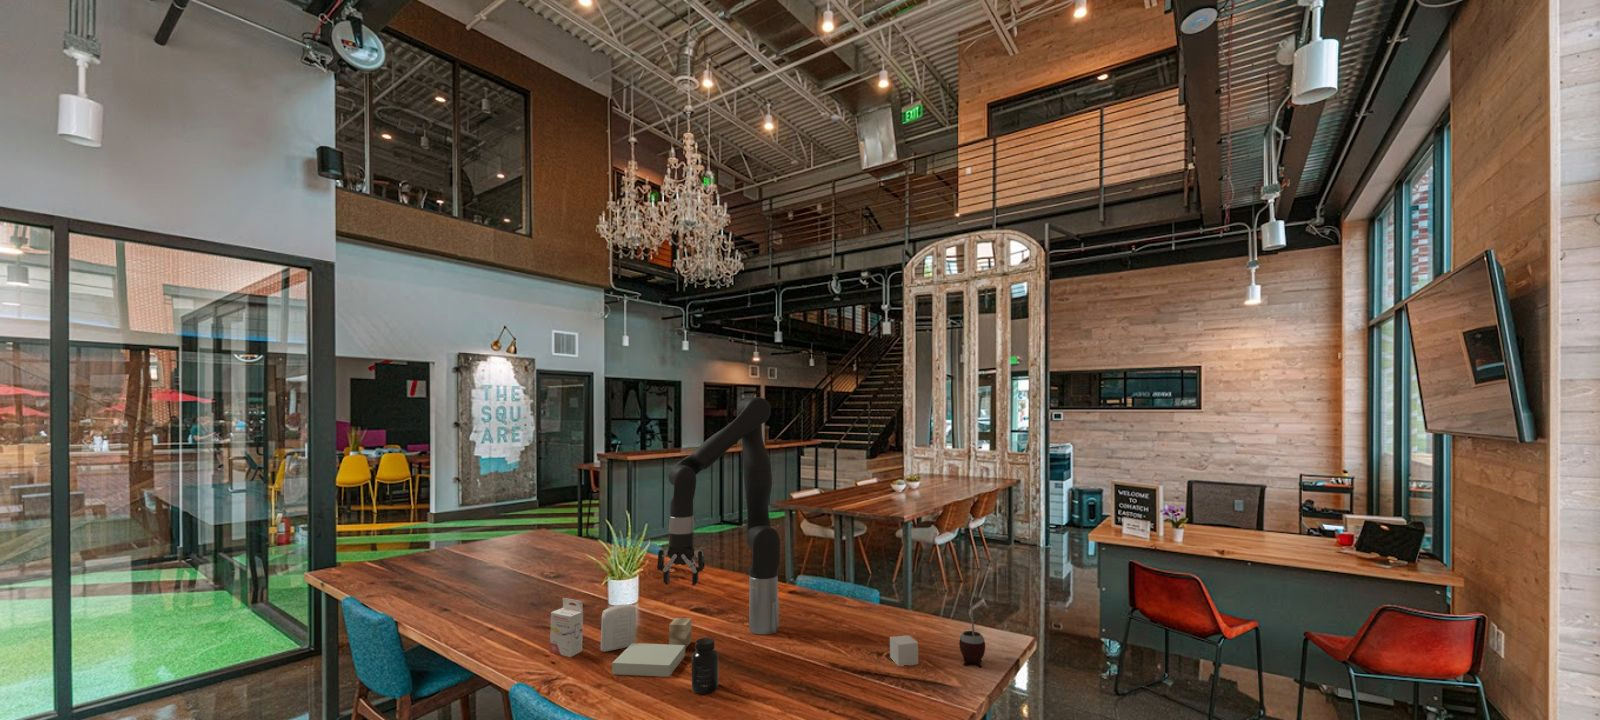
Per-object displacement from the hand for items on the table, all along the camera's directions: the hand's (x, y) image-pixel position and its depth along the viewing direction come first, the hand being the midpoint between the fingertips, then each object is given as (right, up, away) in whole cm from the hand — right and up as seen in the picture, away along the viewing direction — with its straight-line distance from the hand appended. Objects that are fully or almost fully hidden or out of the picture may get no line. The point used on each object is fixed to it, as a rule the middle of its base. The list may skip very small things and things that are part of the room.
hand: (680, 584), depth 189 cm
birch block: (0, -18, -1) cm, 18 cm away
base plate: (-6, -17, -16) cm, 24 cm away
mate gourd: (+85, -17, -16) cm, 88 cm away
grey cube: (+66, -17, -14) cm, 70 cm away
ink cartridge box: (-33, -18, -6) cm, 38 cm away
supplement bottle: (+12, -16, -31) cm, 37 cm away
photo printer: (-18, -18, -3) cm, 26 cm away
